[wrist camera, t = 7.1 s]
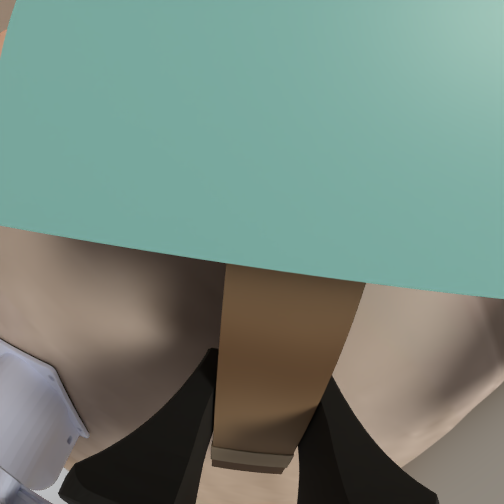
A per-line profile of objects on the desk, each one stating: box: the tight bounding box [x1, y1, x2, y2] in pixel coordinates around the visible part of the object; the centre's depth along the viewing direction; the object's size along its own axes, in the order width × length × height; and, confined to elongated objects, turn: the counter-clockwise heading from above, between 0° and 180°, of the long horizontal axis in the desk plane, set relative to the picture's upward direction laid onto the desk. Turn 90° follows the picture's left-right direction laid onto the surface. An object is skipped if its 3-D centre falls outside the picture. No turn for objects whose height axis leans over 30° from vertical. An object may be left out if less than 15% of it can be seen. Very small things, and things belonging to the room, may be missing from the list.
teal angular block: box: [0, 0, 504, 299], centre depth 5 cm, size 4×9×7 cm, turn 83°
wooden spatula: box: [211, 263, 366, 474], centre depth 8 cm, size 18×3×4 cm, turn 173°
